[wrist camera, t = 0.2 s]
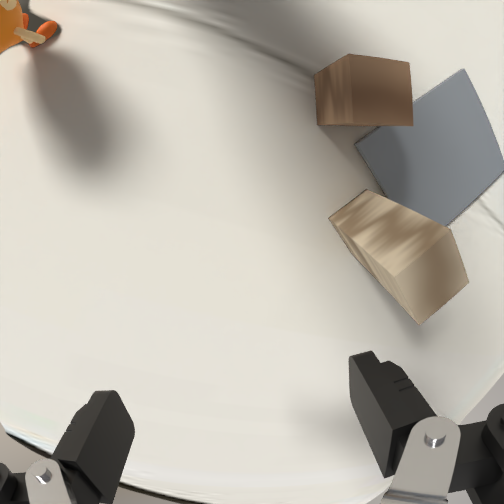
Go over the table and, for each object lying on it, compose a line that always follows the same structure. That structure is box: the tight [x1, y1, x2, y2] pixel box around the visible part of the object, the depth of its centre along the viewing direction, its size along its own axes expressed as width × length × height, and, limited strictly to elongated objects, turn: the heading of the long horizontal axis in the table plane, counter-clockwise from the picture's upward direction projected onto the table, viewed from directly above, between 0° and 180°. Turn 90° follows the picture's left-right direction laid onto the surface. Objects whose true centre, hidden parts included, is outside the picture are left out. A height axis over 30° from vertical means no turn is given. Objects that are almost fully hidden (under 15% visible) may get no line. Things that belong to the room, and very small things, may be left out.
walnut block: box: [314, 54, 414, 126], centre depth 23 cm, size 5×5×9 cm
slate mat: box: [355, 69, 504, 226], centre depth 29 cm, size 18×14×1 cm
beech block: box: [329, 189, 469, 325], centre depth 25 cm, size 5×5×14 cm
